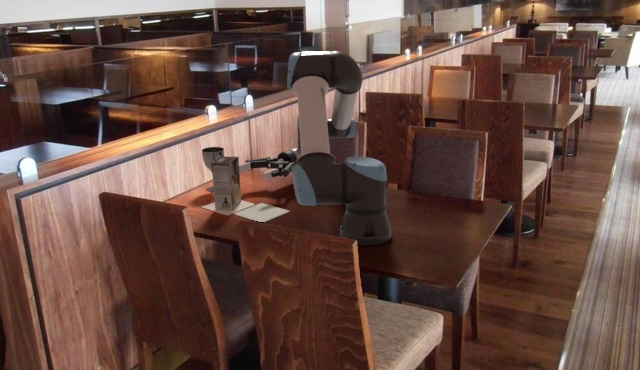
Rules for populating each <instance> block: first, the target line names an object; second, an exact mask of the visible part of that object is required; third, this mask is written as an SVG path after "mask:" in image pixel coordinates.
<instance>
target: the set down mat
mask: <svg viewBox="0 0 640 370" xmlns="http://www.w3.org/2000/svg"><path fill="white" fill-rule="evenodd" d="M290 212H291V210H288V209H284V208H282V207H276V206H274V205H270V204H267V203H264V202H260V203H258V204H256V205H254V206H251V207H248V208H246V209H243V210H241V211H238V212H235V213H233V215H234V216H237V217H239V218H240V217H241V218H244V219H246V220H249V221H253V220H254V221H253V222H256V221H258V222H257V223H259V222H264V223H266V222H269V221H272V220H273V219H276V218H278V217H281V216H283V215H285V214H288V213H290Z"/></svg>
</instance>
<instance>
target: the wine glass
mask: <svg viewBox="0 0 640 370" xmlns="http://www.w3.org/2000/svg"><path fill="white" fill-rule="evenodd" d="M201 155H202V157H201V158H202V161H203V164H204V165H205V168H207V169H208V170H209V171H210V172H211V173H212V163H213V162H214V161H216V160H217V159H219V158H220V157H225V148H224V147H222V146H210V147H209V146H208V147H204V148H202V149H201ZM205 191H207V192H210V193H211V192H213V193H214V187H213V185H212V186H208V187H206V189H205Z"/></svg>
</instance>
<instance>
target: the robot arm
mask: <svg viewBox="0 0 640 370" xmlns="http://www.w3.org/2000/svg"><path fill="white" fill-rule="evenodd" d="M361 69H362V68H361V66H359V63H358V62H357V61H356V60H355V59H354V58H353V57H352V56H351V55H349V54H347V53H345V52H343V51H339V50H332V51H331V50H330V51H329V50H328V51H327V50H326V51H323V50H322V51H321V50H320V51H295V52H292V53H291V54H290V55H289V58H288V67H287V78H286V79H287V83H286V85H287V88H288V90H291V91H292V94H293V96H295V97H296V99H297V109H298V116H297V121H296V130H297V131H296V132H297V147H294V148H291V149H288V150H285V151H282V152H280V153H278V155H277V157H273V158H271V156H267V157H260V158H253V159H246V160H244V161H245V163H242V164H239V174H241V173H244V172H248V171H251V169H262V168H263V169H264V168H266V169H268V171H267V170H266V171H265V172H263V173H262V179H263V180H262V181H263V182H266V181H268V180H271V179H274V178H278V177H284V178H286V177H288V176H289V175H290V174H291V177H292V183H293V184H292V185H293V189H294V195H295V198H296V201H297V203H298V204H299V205H301V206H312V207H316V206H328V205H329V206H330V205H331V206H333V205H345V212H344V216H343V217H342V221H341V223H340V228H339V237H340V236H341V237H346V238H350V239H355V240H357V241H358V244H359V245H358V246H367V247H368V246H377V245H378V246H379V245H382V244H384V243H387V242H388V241H390V239H392V227H391V224H390V221H389V217H388V215H387V207H386V206H387V181H388V177H387V167H386V165H385V164H384V162H382V161H380V160H378V159H376V158H373V157H368V156H359V155H357V156H356V155H355V156H348V157H346V159H345V161H344V163H337V158H336V156H334V154H332V153H331V149H330V139H347V138H354V137H355V136H356V134H357V133H356V131H357V128H356V127H357V126H356V120H355V118H353V115H354V110H355V105H356V102H357V101H356V100H357V95H358V92H360V90H361V89H362V85H363V81H364V80H363V78H364V77H363V72H362V70H361ZM330 89H335V90H334V97H333V105H332V112H331V118H328V117H327V106H326V105H327V103H326V95H327V94H328V92H329V90H330ZM269 169H270V170H269ZM341 237H340V238H341Z"/></svg>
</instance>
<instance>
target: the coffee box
mask: <svg viewBox="0 0 640 370" xmlns="http://www.w3.org/2000/svg"><path fill="white" fill-rule="evenodd" d="M239 165H240V162H239V156H224V157H220V158H219V159H217V160H216V161H214V162H213V163H212V172H211V173H212V184H213V185H212V186H213V187H214V192H213V196H214V197H213V198H214V202H215V209H223V210H233V209H234V208H235V207H236V206H237V205H238V204H239V203H240V202H241V200H242V192H241V191H242V189H241V177H240V175H241V174H240V173H239Z"/></svg>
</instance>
